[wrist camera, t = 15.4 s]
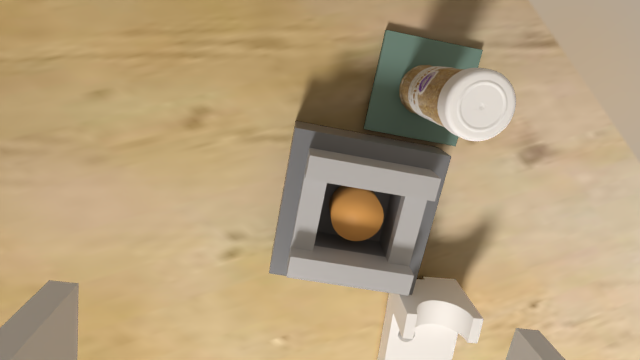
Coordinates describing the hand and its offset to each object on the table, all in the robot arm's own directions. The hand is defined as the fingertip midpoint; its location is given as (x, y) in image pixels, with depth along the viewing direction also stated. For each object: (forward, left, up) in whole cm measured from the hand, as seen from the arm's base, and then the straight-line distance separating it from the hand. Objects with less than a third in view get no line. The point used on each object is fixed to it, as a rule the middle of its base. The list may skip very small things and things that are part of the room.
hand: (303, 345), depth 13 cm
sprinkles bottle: (+10, +7, -29) cm, 32 cm away
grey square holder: (+6, -5, -30) cm, 30 cm away
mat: (+10, +7, -30) cm, 32 cm away
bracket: (+16, -18, -30) cm, 38 cm away
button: (+6, -5, -28) cm, 29 cm away
